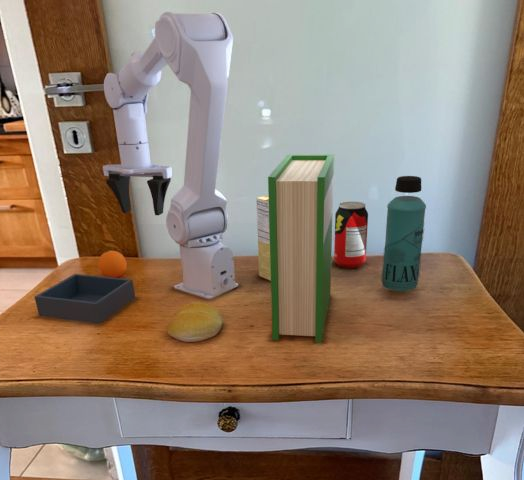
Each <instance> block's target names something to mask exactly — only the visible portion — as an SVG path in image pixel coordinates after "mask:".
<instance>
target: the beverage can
mask: <svg viewBox="0 0 524 480" xmlns="http://www.w3.org/2000/svg"><path fill="white" fill-rule="evenodd" d="M368 224H369V213H368V210H367V207H366V204H365V203H364V202H362V201H343V202H340V203H339V204H338V208H337V210H336V212H335V214H334V245H333V246H334V248H333V249H334V251H333V260H334V262H335V264H337V265H338V266H339V267H341V268H346V269H354V268H358V267H360V266H362V265H363V264H364V263H365V262H366V260H367V259H366V258H367V243H368V242H367V241H368Z"/></svg>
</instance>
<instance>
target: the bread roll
mask: <svg viewBox="0 0 524 480" xmlns="http://www.w3.org/2000/svg"><path fill="white" fill-rule="evenodd" d="M223 323H224V321H223V317H222V315H221V312H220V311H219V310H218V309H217V308H216V307H214V306H212V305H211V304H209V303H206V302H200V301H199V302H197V301H196V302H195V301H193V302H189V303H187V304H184V305H182V306H181V307H180V308H178V309H177V310H176V311H175V312H174V314H173V317H172V318H171V319H170V320H169V321H168V322H167V325H166V332H167V334H168V335H169V336H171V337H172V338H173V339H175V340H178V341H180V342H185V343H196V342H202V341H205V340H207V339H211V338H213V337H215V336H216V335H217V334H218V333H219V332H220V330H221V329H222V325H223Z"/></svg>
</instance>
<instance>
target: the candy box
mask: <svg viewBox="0 0 524 480" xmlns="http://www.w3.org/2000/svg"><path fill="white" fill-rule="evenodd" d="M256 224H257V225H256V227H257V254H258V256H257V257H258V276H259V277H260V278H263V279H266V280H267V281H270V282H271V267H270V230H269V194H266V195H263V196H259V197H256Z"/></svg>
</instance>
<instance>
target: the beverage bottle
mask: <svg viewBox="0 0 524 480" xmlns="http://www.w3.org/2000/svg"><path fill="white" fill-rule="evenodd" d="M394 190H395V192H398V193H403V194H414V193H415V194H416V193H420V192H422V178H421V177H420V176H417V175H401V176H398V177H397V178H396V183H395V187H394ZM386 207H387V214H386V224H385V241H384V248H383V253H382V254H383V260H382V264H381V266H382V267H381V275H380V276H381V277H380V280H381V284H382V287H383V288H385V289H387V290H389V291H394V292H408V291H412V290H414V289H416V288H417V286H418V284H419V281H420V280H419V279H420V275H421V274H420V273H421V271H420V267H421V263H422V261H421V257H422V247H423V246H422V245H423V240H424V235H425V226H426V225H425V215H426V209H427V205H426V203H425V202H424V200H422V198H421V197H418V196H415V195H400V196H396V197H394V198H393V199H392V200H390V201H389V202H388V204H387V205H386Z"/></svg>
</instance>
